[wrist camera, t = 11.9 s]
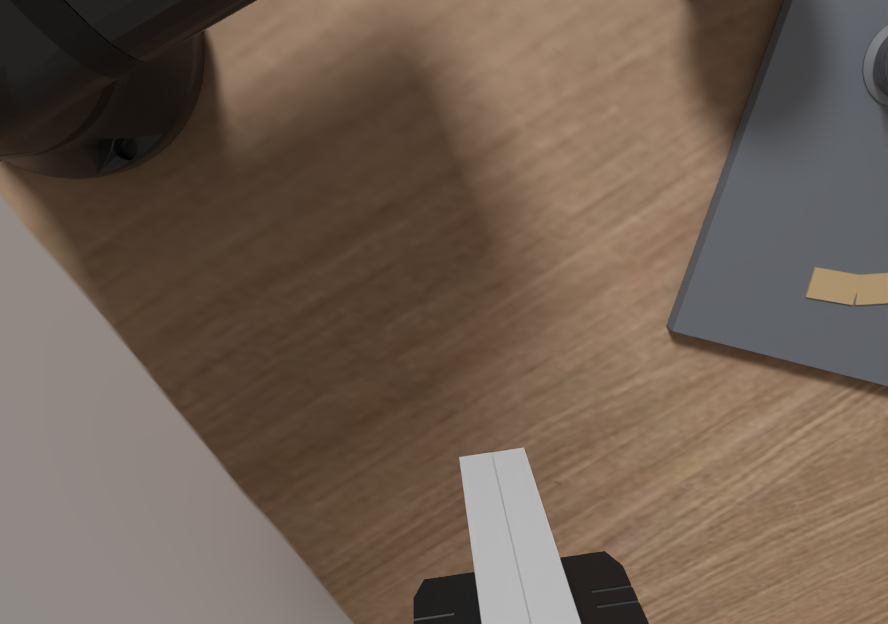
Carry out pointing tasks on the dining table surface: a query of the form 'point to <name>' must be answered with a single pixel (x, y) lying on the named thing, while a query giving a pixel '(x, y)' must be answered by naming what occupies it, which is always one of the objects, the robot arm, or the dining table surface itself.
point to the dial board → (803, 203)
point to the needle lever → (882, 67)
